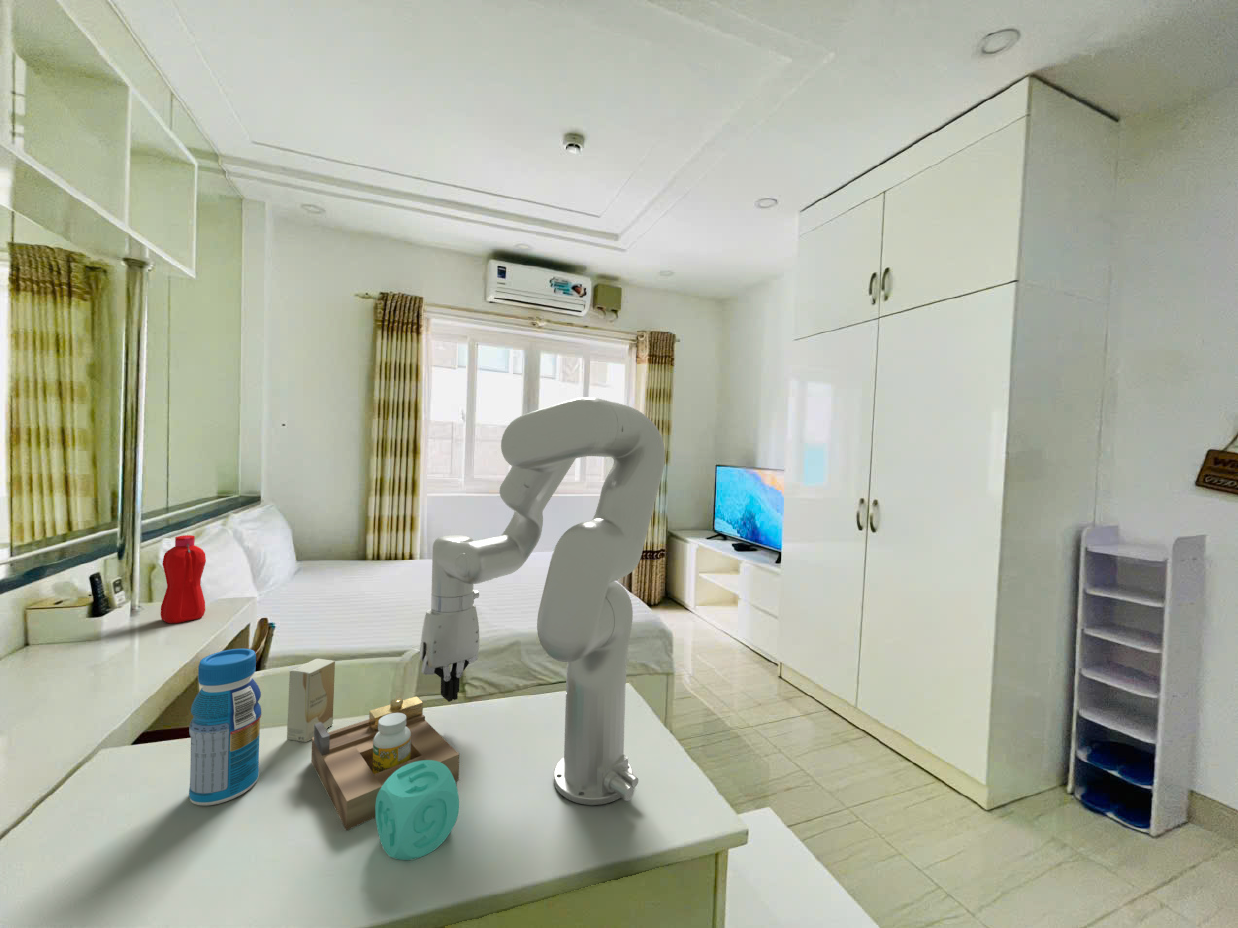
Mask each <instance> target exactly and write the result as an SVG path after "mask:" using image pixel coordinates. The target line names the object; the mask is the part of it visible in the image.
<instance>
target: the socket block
mask: <svg viewBox="0 0 1238 928" xmlns="http://www.w3.org/2000/svg"><path fill="white" fill-rule="evenodd" d="M406 727H407V728H409V730H410V732H411V752H410V753H411V754H410V760H409V761H407V762H404V763H402V764H399V765H397V766H394V767H392V768H389V769H387V770H384V771H382V772H379V773H376V774H373V740H374V737H375V735H376V734H377V733H378V732H379V730H377V731H373V730H372V728H371V727H370V726H369V718H367V719H365V720H363V721H359V722H356V723H353V724H350V725H347V726H343V727H341V728H338V729H335V730H332V731H329V732H328V729H325V727H324V725H323V724H322V722H320V723H317V724H314V737H312V739H311V758H310V759H311V761H310V762H311V764H312V765H313V768H314V770H315V772H316V774H317V776H318V778H319V779H320V781H321V784H322V786H323V788H324V789H325V791H326V793H327V795H328V798H329V799H330V801H331V803H332V806H333V807H334V809H335V811H336V813H337V815H338V817H339V819H340V822H341V823H342V825H343V826H344V829H345V831H348V830H351V829H353V828H355V827H357V826H360V825H362V824H364V823H366V822H368V821H371V820H372V819H376V815H375V804H376V798H377V794H378V792H379V790H380V789H381V787H382V785H383V784H384V783H385V781H386V780H387V779H388V778H389V777H390V776H391V775H392V774H393V773H394V772H395V771H396V770H398V769H399V768H401V767H403V766H405V765H407V764H409V763H412V762H416V761H422V760H434V761H438V762H441V763H443V764H444V765H446V766H447V767H448V768H449V770H450V771H451V773H452V775H453V777H454V780H455V782H456V781H459V778H460V776H459V775H460V753H459V752H458V751H457V750H456V749H455V748H454V747H453V746H452V745H451V744H450V743H449V742H448V741H447V740H446V739H445V738H444V737H443V736H442V735H441V734H440V733H439V732H438V731H437V730H436V729H435V728H434V727H433V726H432V725H431V724H430V723H429V722H428V721H427V720H426V716H425V714H423V715H421V716H418V717H415V718H412V719H409V720H406Z"/></svg>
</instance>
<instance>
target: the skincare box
mask: <svg viewBox="0 0 1238 928" xmlns="http://www.w3.org/2000/svg"><path fill="white" fill-rule="evenodd" d="M335 670H336V660H331V659H324V658H314V659H312V660H310V661H308V662H306V663H303V664H300V665H299V666H298V667H295V668H293V669H290V670H289V680H288V681H289V683H288V701H287V702H288V703H287V706H288V707H287V727H286V728H287V729H286V739H287V740H291V741H295V742H296V741H298V742H303V743H304V742H305V743H308V742H309V741H310V740H311V741H312V737H314V724H317V723H320V722H322V724H323V725H324V727H325V729H326V730H328V729H329V728H331V727H332V726H333V725H332V724H334V723H333V722H334V704H335V703H334V701H335V698H334V697H335V673H336V672H335ZM331 725H332V726H331ZM330 726H331V727H330ZM328 727H329V728H328ZM327 728H328V729H327Z"/></svg>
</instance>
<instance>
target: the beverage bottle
mask: <svg viewBox="0 0 1238 928" xmlns="http://www.w3.org/2000/svg"><path fill="white" fill-rule="evenodd" d="M256 660H257V655H256V652H255V650H253V649H250V648H231V649H226V650H222V651H218V652H214V653H212V654H208V655H207V656H205V657H203V658H202V659H200V662H199V663H198V671H197V672H198V673H197V677H198V679H197V680H198V681H197V682H198V684H199V686H200V687H201V689H200V690H199V691H198V693H197V694H196V696H195V697H194V700H192V701H193V702H192V704H191V707H190V713H191V715H192V716H193V718H192V719H191V721H190V723H189V728H188V729H189V730H188V732H189V736H190V766H189V767H190V768H189V769H190V770H189V771H190V772H189V773H190V776H189V789H188V797H189V800H190V802H191V803H192V804H195V805H197V806H203V807H204V806H213V805H219V804H222V803H225V802H226V803H227V802H228V801H231V800H233V799H236V798H238V797H239V796H241V795H243V794H245V793H246V792H247V791H249V790H251V788H253V786H255V784H256V783H257V781H258V780H259V776H260V775H259V774H260V768H259V764H260V763H259V761H260V759H259V758H260V757H259V756H260V734H261V733H260V729H261V717H262V706H261V704H260V703H259V701H260V699H261V697H262V694H261V693H262V692H261V689H260V687H259V685H258V682H256V681H255V680H254V678H252V677H253V676H254V675H255V673H256V668H257V667H256V665H257V661H256Z"/></svg>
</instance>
